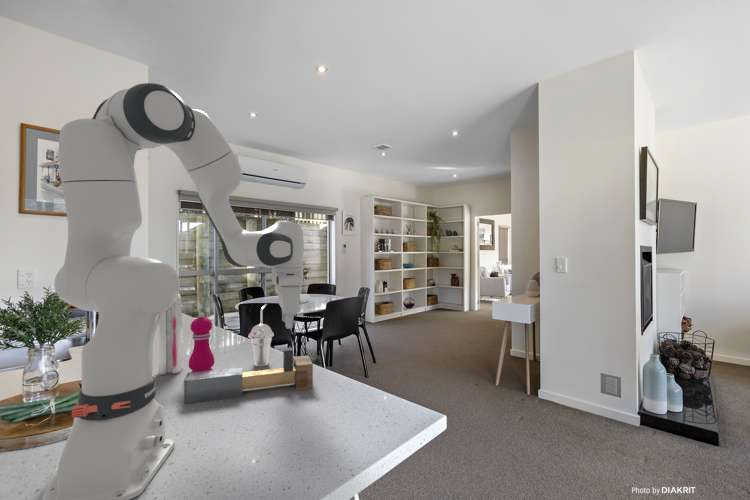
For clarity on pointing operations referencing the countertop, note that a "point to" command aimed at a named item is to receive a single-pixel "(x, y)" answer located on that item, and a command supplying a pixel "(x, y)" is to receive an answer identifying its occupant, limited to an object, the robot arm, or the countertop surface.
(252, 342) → the cup with straw
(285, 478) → the countertop surface
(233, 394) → the sleeve
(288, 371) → the gold post block
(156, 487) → the countertop surface
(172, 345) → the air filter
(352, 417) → the countertop surface
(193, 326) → the pepper mill
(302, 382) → the socket block
